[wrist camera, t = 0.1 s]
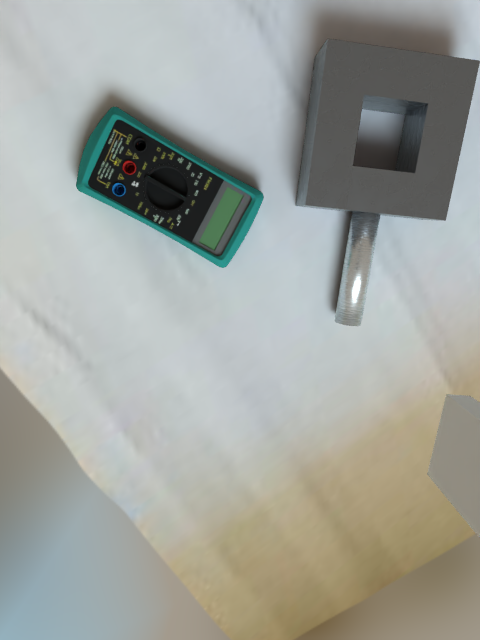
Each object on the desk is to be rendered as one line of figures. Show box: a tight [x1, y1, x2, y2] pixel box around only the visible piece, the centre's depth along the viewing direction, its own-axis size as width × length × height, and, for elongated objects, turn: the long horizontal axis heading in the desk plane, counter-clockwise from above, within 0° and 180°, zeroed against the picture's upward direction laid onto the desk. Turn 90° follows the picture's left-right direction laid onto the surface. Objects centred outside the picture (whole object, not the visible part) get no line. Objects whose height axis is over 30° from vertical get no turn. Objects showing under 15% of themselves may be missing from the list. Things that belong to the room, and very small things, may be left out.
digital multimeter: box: [76, 107, 264, 268], centre depth 36 cm, size 7×15×3 cm, turn 61°
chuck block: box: [296, 39, 480, 326], centre depth 37 cm, size 22×12×4 cm, turn 174°
